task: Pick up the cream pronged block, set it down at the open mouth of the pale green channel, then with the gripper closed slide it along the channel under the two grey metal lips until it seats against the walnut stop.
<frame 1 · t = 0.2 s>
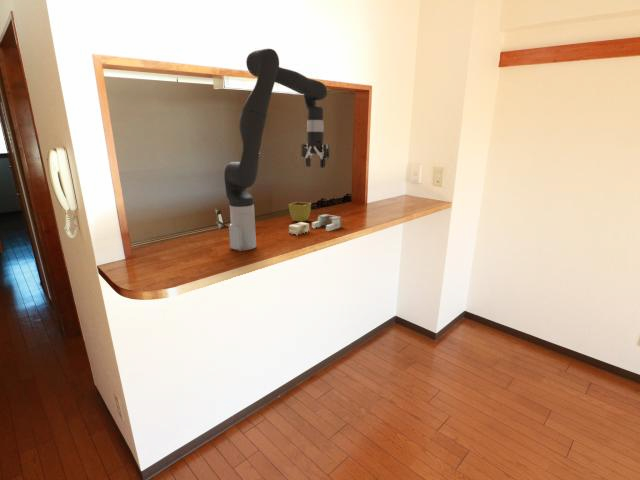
hand: (315, 167, 170), 28 cm above the worktop, tool pointing down, fingers open, 8 cm apart
cream pronged block: (299, 233, 167), on the worktop
flower pot: (300, 221, 188), on the worktop
channel: (325, 227, 174), on the worktop
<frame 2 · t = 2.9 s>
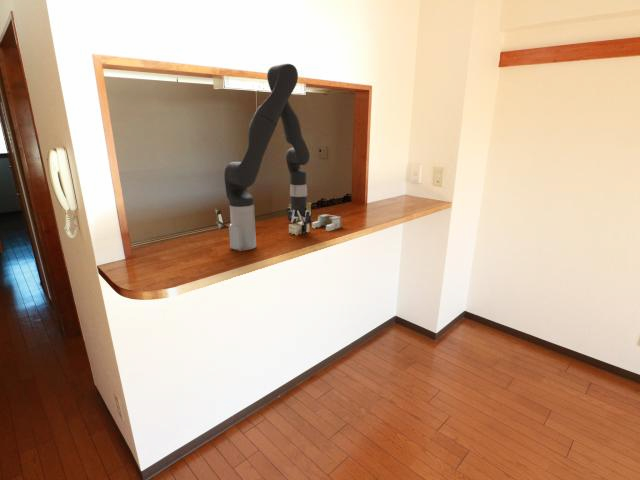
hand: (299, 231, 166), 1 cm above the worktop, tool pointing down, fingers closed on cream pronged block, 5 cm apart
cream pronged block: (299, 232, 167), on the worktop, touching gripper
everything else where it was.
when the fingers open (1 cm above the worktop, at t = 8.0 s): cream pronged block drops 1 cm, on the worktop.
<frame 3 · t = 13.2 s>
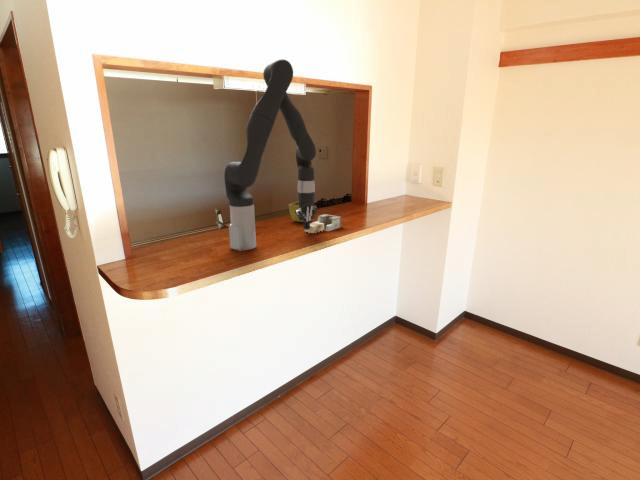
hand: (306, 229, 164), 2 cm above the worktop, tool pointing down, fingers closed
cream pronged block: (314, 232, 169), on the worktop
everything else where it was.
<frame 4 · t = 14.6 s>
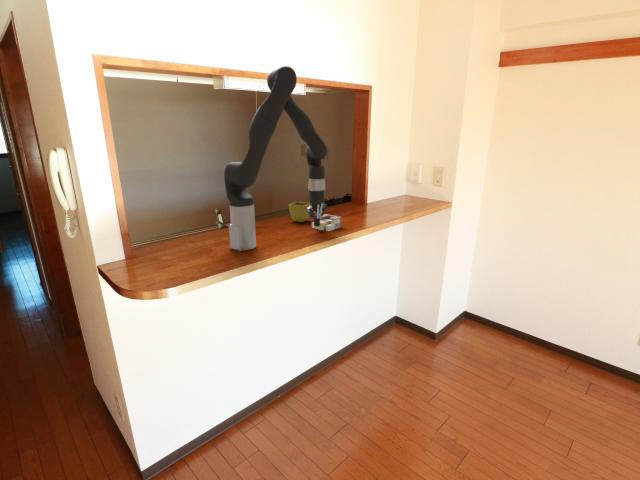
hand: (316, 226, 169), 2 cm above the worktop, tool pointing down, fingers closed
cream pronged block: (323, 229, 174), on the worktop
everything else where it was.
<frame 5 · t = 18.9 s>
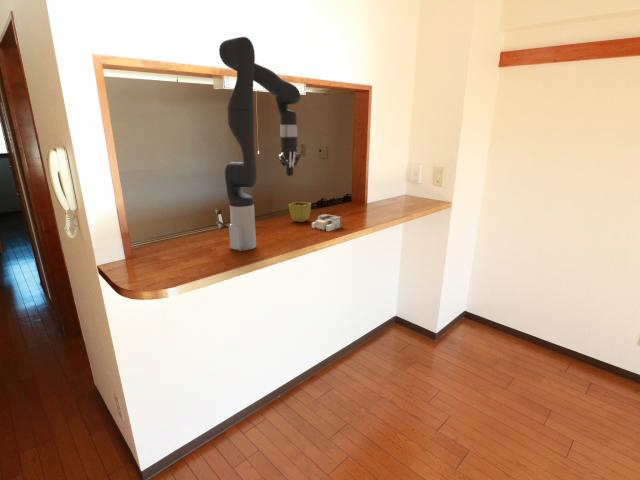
hand: (289, 175, 165), 25 cm above the worktop, tool pointing down, fingers closed
cream pronged block: (325, 228, 175), on the worktop
everything else where it was.
at the end: cream pronged block 0.4 cm from the target spot, on the worktop; cream pronged block moved 14.7 cm from its start; the gripper is holding nothing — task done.
